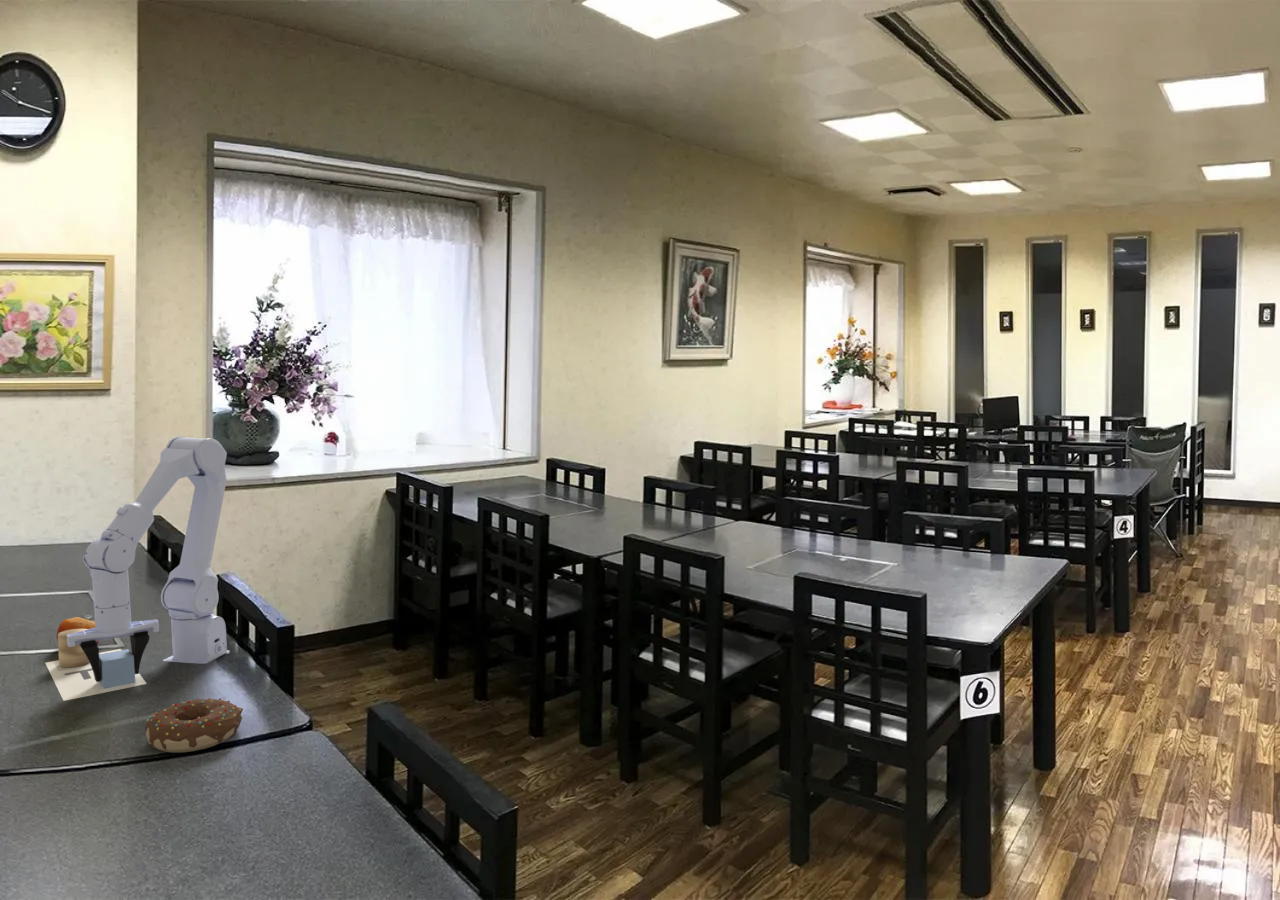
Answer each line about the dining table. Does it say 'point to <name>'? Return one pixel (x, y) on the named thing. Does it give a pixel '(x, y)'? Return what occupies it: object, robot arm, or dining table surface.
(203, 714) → the donut
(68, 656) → the wooden cylinder
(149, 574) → the dining table surface
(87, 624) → the fruit
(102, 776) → the dining table surface
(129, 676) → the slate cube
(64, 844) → the dining table surface
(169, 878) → the dining table surface
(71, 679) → the letter mat
